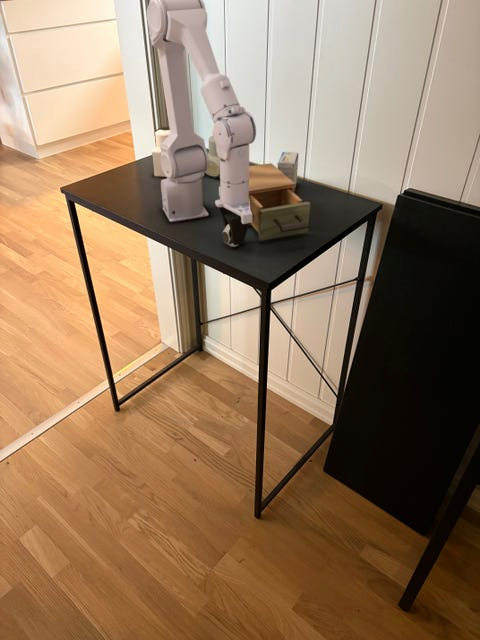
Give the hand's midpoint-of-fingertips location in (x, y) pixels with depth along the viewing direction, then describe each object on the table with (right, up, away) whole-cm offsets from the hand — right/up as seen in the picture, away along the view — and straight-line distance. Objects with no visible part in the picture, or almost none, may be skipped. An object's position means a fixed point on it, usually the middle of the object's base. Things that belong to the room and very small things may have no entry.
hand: (235, 239), depth 106 cm
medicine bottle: (-19, +24, +33) cm, 45 cm away
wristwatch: (0, -1, +1) cm, 2 cm away
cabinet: (+5, +9, +14) cm, 18 cm away
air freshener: (-4, +24, +33) cm, 40 cm away
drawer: (+9, +3, +5) cm, 11 cm away
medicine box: (+13, +17, +24) cm, 33 cm away
